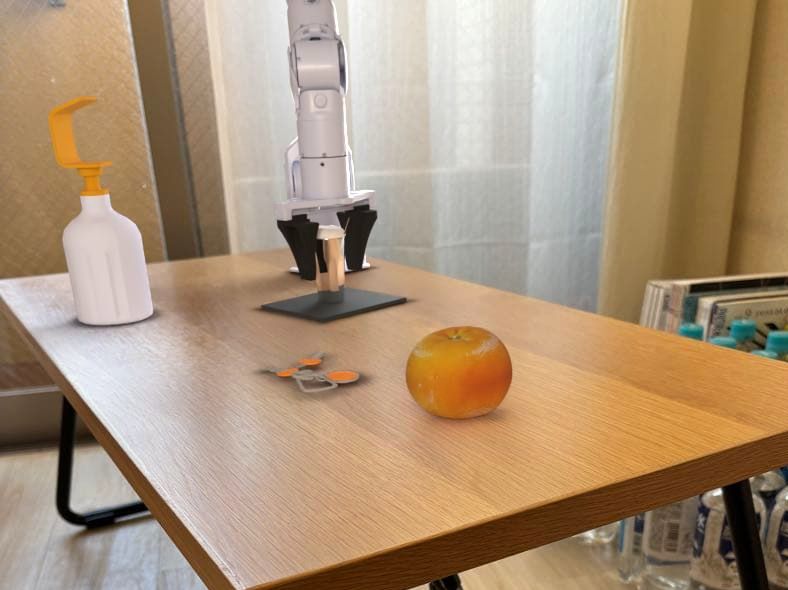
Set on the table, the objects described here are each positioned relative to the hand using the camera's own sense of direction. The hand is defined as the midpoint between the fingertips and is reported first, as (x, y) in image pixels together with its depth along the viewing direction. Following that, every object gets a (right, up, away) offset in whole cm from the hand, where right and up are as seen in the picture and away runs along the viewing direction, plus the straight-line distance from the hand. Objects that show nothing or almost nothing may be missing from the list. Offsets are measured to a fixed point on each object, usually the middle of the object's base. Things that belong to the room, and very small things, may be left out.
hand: (332, 274), depth 111 cm
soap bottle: (-27, -6, 0) cm, 27 cm away
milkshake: (0, -3, +1) cm, 3 cm away
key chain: (0, -17, -26) cm, 31 cm away
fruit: (+14, -23, -37) cm, 45 cm away
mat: (0, -3, +2) cm, 4 cm away
